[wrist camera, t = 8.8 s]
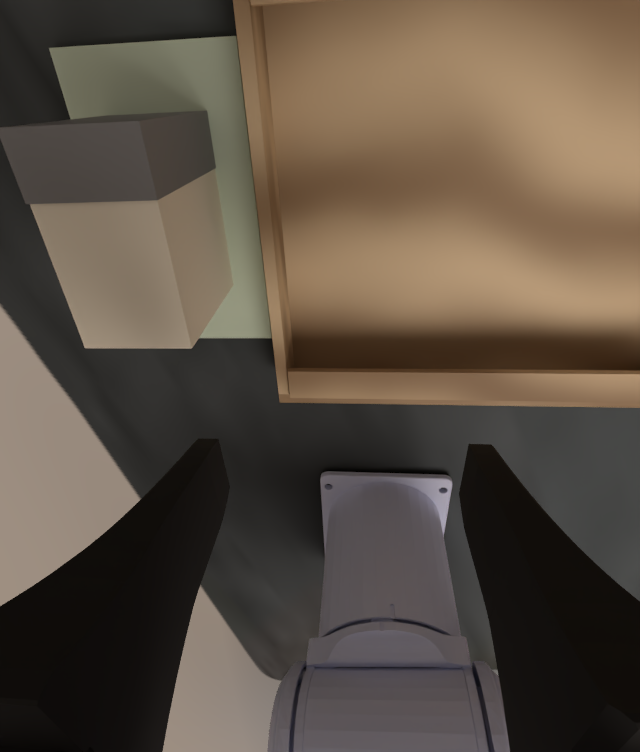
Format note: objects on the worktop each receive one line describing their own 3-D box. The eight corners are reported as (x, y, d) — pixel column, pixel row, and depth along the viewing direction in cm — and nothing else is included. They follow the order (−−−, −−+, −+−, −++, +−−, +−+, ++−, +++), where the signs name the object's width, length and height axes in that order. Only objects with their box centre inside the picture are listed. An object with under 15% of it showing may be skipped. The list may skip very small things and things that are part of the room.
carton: (641, 376, 22) (675, 412, 20) (287, 373, 24) (278, 406, 21) (848, -111, 13) (960, -157, 10) (243, -59, 15) (220, -88, 12)
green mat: (273, 332, 23) (271, 338, 22) (142, 332, 23) (137, 338, 23) (239, 37, 16) (235, 35, 15) (58, 49, 17) (48, 48, 16)
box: (234, 284, 21) (192, 349, 16) (150, 285, 21) (82, 349, 16) (207, 110, 17) (138, 121, 12) (105, 115, 17) (-4, 127, 12)
